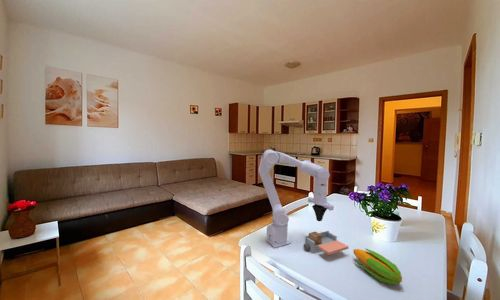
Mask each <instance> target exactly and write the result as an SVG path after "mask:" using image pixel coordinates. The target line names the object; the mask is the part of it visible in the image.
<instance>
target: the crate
mask: <svg viewBox="0 0 500 300" xmlns="http://www.w3.org/2000/svg"><path fill="white" fill-rule="evenodd" d="M319 233H320V232H318V231H311V232H309V233H308V236H309V239H311V240H313V241H314V242H315V246H316V245H320V244H322V235H321V234H319Z"/></svg>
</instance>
